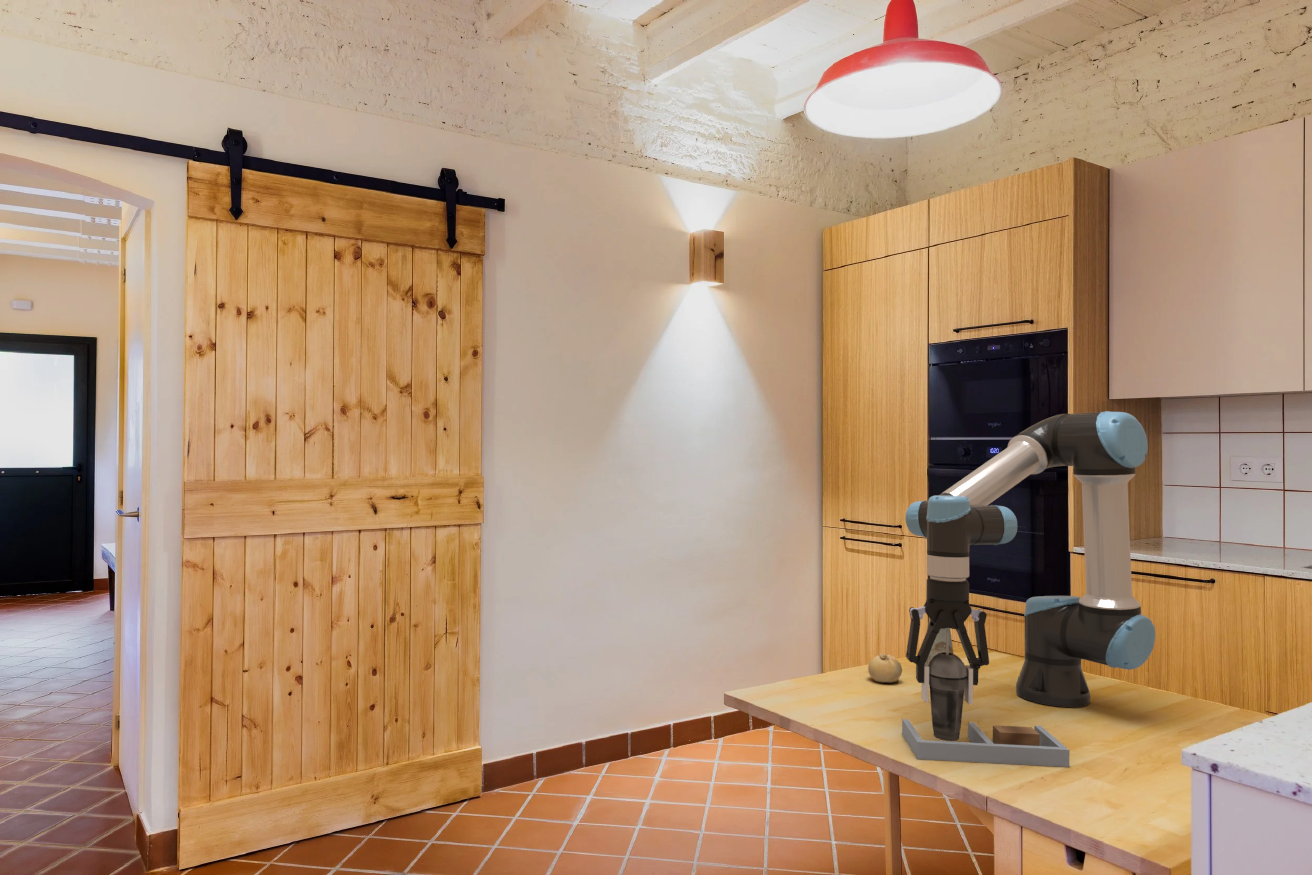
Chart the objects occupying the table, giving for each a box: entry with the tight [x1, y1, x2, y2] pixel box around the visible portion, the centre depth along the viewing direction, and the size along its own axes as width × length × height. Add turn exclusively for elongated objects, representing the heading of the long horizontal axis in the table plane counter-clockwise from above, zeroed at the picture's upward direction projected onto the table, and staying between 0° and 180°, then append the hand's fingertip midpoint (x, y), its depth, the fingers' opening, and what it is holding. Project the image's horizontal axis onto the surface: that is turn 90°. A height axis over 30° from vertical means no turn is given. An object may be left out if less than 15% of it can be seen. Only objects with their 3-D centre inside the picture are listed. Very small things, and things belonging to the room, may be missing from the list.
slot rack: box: [901, 718, 1070, 768], centre depth 148 cm, size 26×13×3 cm, turn 85°
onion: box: [867, 653, 903, 683], centre depth 194 cm, size 8×8×7 cm
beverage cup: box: [928, 630, 968, 742], centre depth 150 cm, size 7×7×20 cm
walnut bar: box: [992, 724, 1040, 746], centre depth 148 cm, size 7×4×4 cm, turn 85°
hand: (946, 700), depth 150 cm, fingers closed on beverage cup, 7 cm apart
